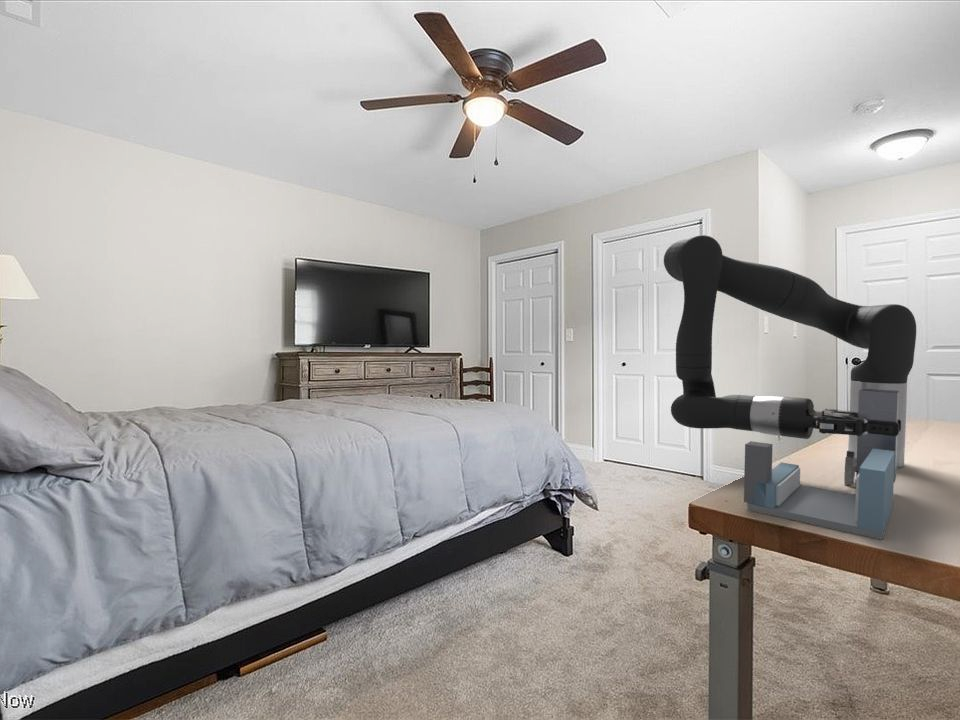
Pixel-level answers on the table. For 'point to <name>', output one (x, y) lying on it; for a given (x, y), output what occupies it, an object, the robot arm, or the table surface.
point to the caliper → (850, 468)
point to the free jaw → (767, 477)
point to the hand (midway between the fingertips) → (899, 427)
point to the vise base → (846, 500)
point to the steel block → (879, 409)
